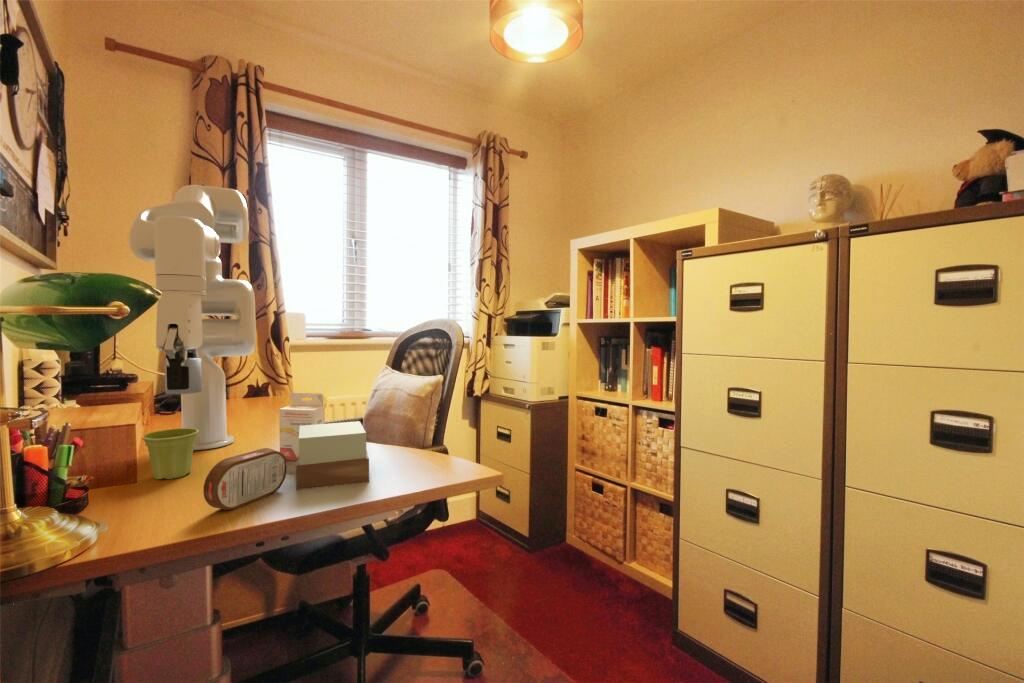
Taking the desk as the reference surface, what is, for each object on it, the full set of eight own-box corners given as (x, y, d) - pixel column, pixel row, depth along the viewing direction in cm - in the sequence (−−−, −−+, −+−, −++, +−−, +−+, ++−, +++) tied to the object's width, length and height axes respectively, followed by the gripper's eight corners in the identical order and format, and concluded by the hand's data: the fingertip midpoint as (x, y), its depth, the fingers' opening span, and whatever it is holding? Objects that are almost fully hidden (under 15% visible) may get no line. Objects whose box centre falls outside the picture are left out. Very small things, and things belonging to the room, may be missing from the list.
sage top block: (299, 449, 102) (299, 425, 101) (360, 444, 106) (359, 421, 106) (299, 465, 91) (298, 438, 90) (366, 458, 95) (366, 432, 95)
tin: (278, 486, 92) (277, 442, 92) (290, 488, 91) (290, 444, 91) (202, 516, 78) (200, 464, 78) (216, 519, 77) (214, 466, 77)
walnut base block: (300, 471, 103) (300, 448, 103) (364, 465, 107) (364, 442, 107) (296, 491, 91) (296, 465, 90) (369, 483, 95) (368, 458, 95)
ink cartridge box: (278, 460, 109) (277, 395, 109) (290, 454, 114) (289, 392, 114) (315, 461, 109) (314, 396, 108) (325, 455, 114) (324, 392, 113)
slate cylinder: (171, 390, 90) (170, 358, 90) (205, 389, 92) (204, 357, 92) (160, 394, 85) (159, 360, 85) (196, 393, 87) (196, 359, 87)
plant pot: (152, 486, 92) (151, 441, 92) (136, 476, 98) (134, 433, 98) (207, 474, 100) (206, 432, 99) (189, 465, 105) (188, 426, 105)
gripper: (173, 289, 95) (175, 382, 96) (137, 283, 79) (140, 395, 79) (217, 290, 97) (219, 380, 98) (191, 284, 81) (193, 392, 82)
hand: (183, 386), depth 89 cm, fingers closed on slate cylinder, 5 cm apart
